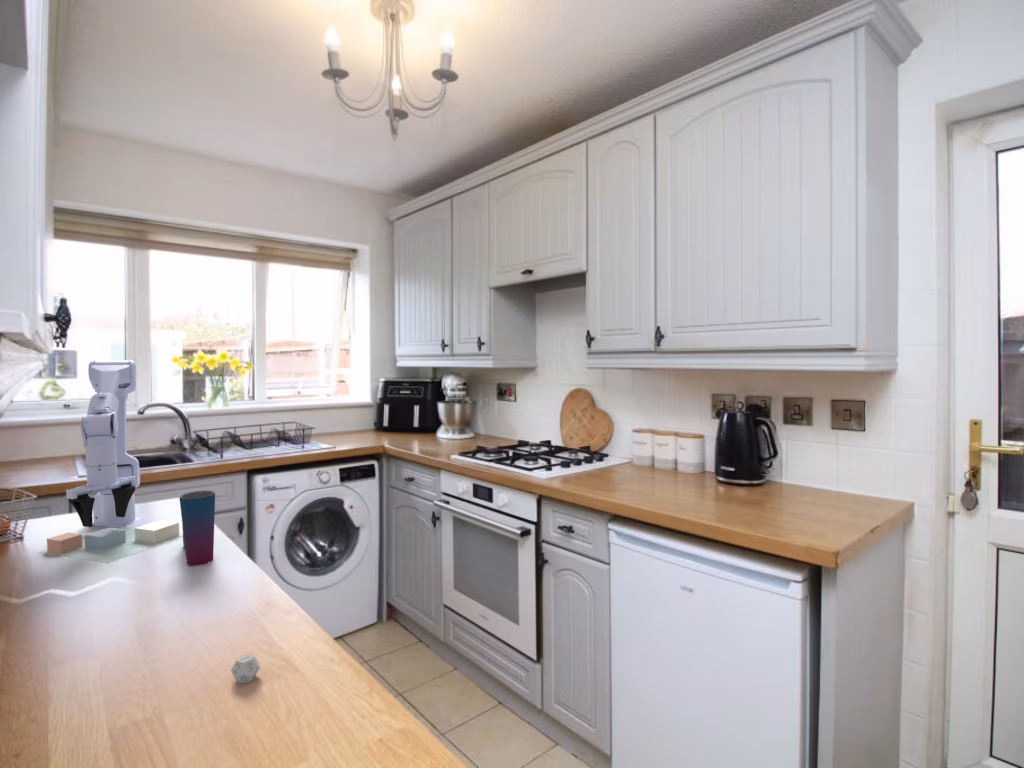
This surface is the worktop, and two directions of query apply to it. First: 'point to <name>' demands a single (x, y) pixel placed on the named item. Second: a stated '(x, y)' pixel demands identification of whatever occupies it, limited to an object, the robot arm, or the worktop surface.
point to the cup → (198, 525)
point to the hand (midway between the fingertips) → (104, 521)
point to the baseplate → (112, 548)
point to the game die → (245, 668)
